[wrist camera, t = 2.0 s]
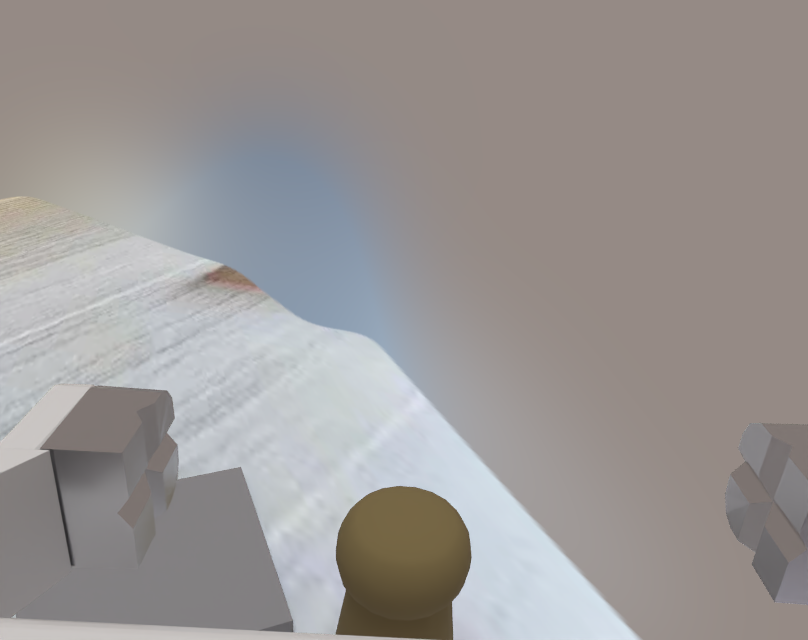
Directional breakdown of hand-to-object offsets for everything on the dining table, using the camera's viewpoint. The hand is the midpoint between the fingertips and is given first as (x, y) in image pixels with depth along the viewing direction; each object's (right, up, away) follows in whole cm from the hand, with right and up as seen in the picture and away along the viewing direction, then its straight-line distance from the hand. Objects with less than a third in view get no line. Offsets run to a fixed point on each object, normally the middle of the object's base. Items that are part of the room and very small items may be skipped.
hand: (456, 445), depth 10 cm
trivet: (-14, -11, +27) cm, 32 cm away
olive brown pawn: (-1, -15, +21) cm, 26 cm away
